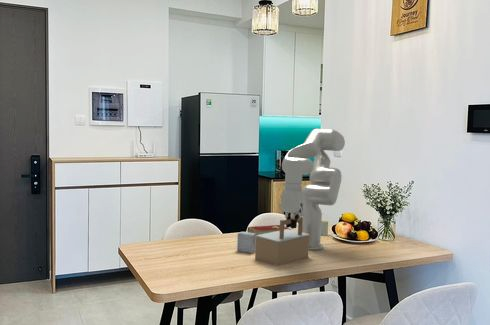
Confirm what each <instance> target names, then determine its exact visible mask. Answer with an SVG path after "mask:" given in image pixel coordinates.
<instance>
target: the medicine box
mask: <svg viewBox="0 0 490 325" xmlns="http://www.w3.org/2000/svg"><path fill="white" fill-rule="evenodd" d="M236 244H237V246H236V247H237V248H236V251H237V252H243V253H248V254H249V253H250V254H254V252H256V234H255V233H248V231H240V232H238V233H237V243H236Z"/></svg>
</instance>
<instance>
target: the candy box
mask: <svg viewBox="0 0 490 325" xmlns="http://www.w3.org/2000/svg"><path fill="white" fill-rule="evenodd" d="M328 232H329V221H328V220H321V236H322V235H324V237H325V236H328Z"/></svg>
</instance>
